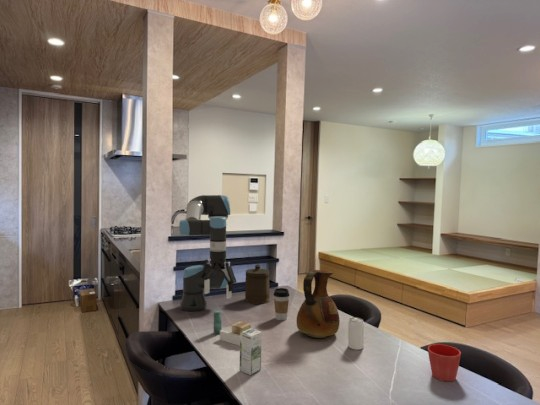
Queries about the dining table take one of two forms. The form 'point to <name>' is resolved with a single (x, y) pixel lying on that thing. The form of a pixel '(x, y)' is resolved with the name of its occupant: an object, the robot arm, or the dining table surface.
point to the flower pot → (444, 361)
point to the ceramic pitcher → (317, 307)
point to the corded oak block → (236, 327)
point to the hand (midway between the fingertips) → (217, 295)
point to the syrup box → (250, 351)
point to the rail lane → (230, 337)
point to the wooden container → (257, 285)
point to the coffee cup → (281, 303)
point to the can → (356, 333)
